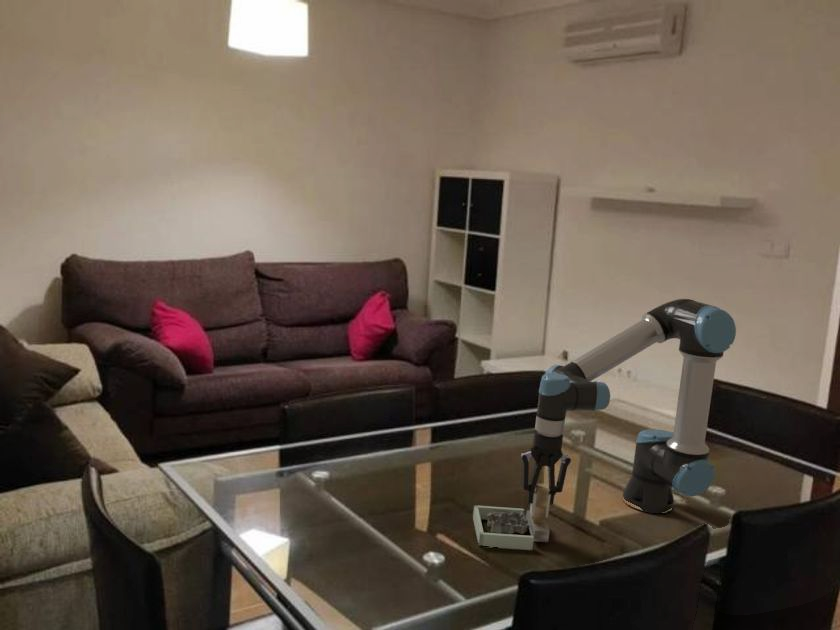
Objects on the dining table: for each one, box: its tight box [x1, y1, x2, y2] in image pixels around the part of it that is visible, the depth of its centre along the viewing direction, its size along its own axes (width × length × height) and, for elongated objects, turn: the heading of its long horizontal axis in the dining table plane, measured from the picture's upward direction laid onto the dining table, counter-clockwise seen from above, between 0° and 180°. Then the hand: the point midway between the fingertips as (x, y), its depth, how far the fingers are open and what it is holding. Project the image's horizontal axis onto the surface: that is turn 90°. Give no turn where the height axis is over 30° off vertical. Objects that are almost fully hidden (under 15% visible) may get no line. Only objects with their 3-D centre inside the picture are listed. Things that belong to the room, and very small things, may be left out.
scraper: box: [525, 483, 550, 543], centre depth 209 cm, size 4×12×13 cm, turn 2°
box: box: [472, 505, 534, 551], centre depth 210 cm, size 14×17×4 cm
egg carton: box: [486, 511, 529, 535], centre depth 213 cm, size 11×8×4 cm
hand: (538, 514), depth 210 cm, fingers closed on scraper, 3 cm apart
